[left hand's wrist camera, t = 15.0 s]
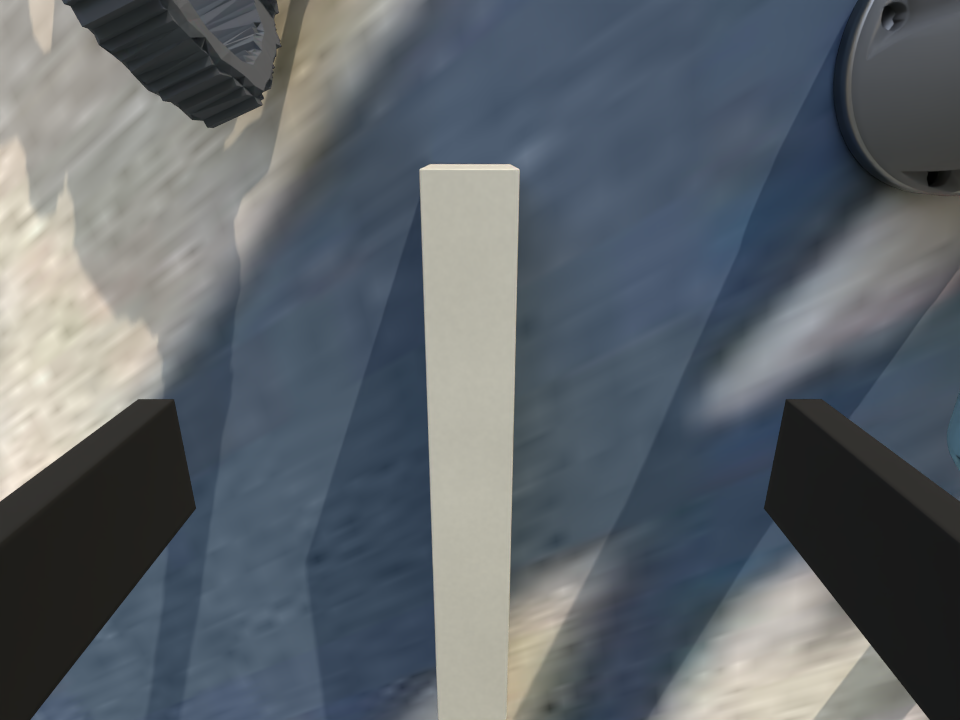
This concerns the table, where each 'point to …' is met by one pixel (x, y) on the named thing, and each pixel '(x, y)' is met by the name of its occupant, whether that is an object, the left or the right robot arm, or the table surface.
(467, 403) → the bar
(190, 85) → the toy
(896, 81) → the left robot arm
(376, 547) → the table surface
